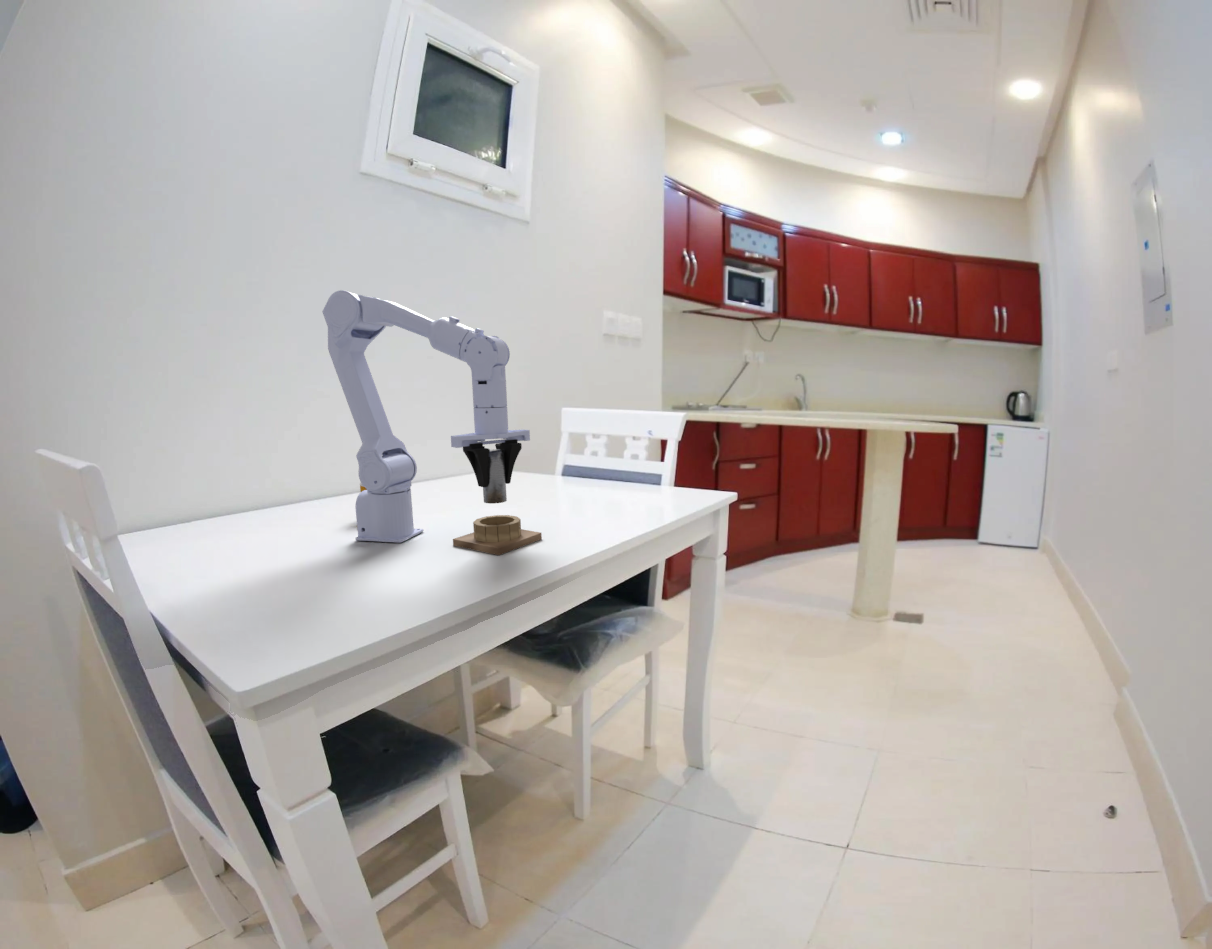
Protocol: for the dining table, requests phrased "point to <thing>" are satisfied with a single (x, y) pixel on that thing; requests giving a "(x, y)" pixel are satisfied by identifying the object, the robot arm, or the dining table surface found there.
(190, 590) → the dining table surface
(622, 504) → the dining table surface
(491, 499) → the steel pin
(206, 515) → the dining table surface
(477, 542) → the socket block
